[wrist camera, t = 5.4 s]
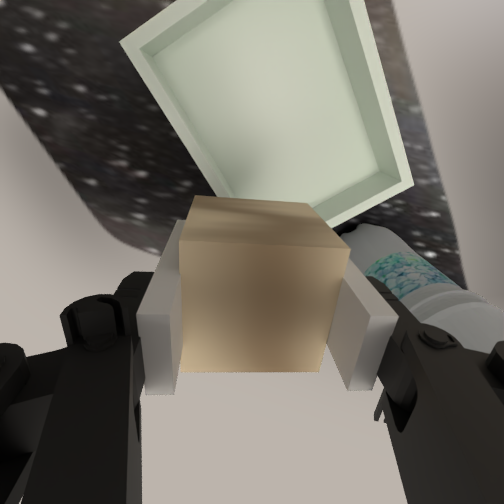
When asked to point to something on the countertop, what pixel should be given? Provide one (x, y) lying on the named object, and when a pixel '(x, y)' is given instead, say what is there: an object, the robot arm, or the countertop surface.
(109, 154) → the countertop surface
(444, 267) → the countertop surface
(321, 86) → the tote
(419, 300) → the bottle
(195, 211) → the cube
